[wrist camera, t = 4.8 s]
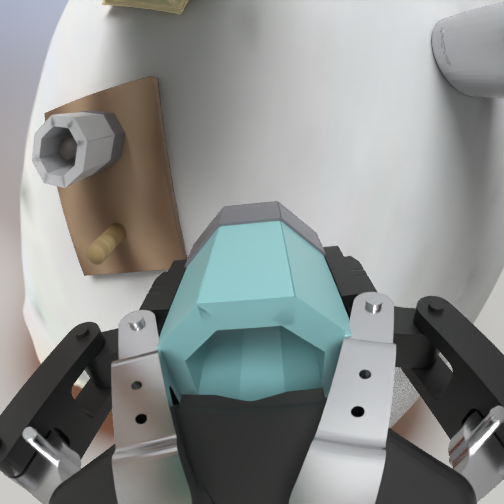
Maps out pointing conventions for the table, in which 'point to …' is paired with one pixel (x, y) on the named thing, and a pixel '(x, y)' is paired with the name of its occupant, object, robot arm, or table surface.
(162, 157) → the brown peg stand
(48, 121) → the grey sleeve
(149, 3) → the carriage clock
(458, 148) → the table surface
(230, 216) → the teal sleeve
